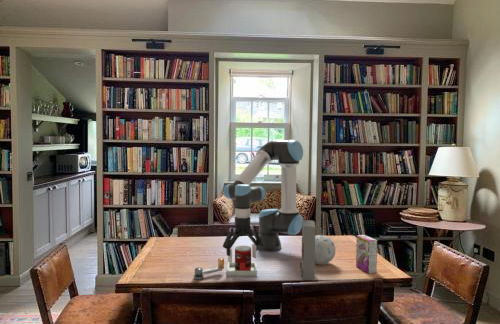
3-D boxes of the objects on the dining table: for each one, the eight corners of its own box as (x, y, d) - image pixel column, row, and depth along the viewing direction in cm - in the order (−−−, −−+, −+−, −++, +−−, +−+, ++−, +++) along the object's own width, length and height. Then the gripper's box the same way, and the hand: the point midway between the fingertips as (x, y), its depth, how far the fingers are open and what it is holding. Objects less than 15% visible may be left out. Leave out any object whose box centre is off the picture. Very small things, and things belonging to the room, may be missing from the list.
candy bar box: (355, 266, 191) (356, 235, 190) (363, 265, 192) (364, 234, 192) (368, 274, 180) (369, 240, 179) (376, 273, 182) (377, 239, 181)
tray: (255, 267, 188) (255, 262, 187) (256, 276, 175) (256, 271, 174) (228, 267, 187) (228, 262, 187) (227, 276, 174) (227, 271, 174)
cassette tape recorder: (299, 270, 185) (300, 220, 184) (312, 270, 184) (313, 220, 183) (301, 280, 171) (302, 226, 170) (314, 280, 170) (315, 226, 169)
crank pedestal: (203, 276, 174) (203, 274, 174) (202, 280, 169) (202, 277, 169) (194, 276, 174) (194, 274, 174) (193, 280, 169) (193, 277, 169)
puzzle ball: (329, 270, 184) (329, 240, 184) (301, 265, 192) (301, 236, 192) (339, 262, 197) (339, 234, 197) (312, 257, 205) (312, 230, 204)
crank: (196, 277, 169) (196, 265, 169) (193, 274, 172) (193, 263, 172) (225, 270, 178) (225, 259, 177) (221, 268, 181) (221, 257, 180)
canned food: (234, 267, 185) (234, 245, 184) (250, 267, 185) (250, 245, 185) (235, 273, 177) (235, 250, 176) (251, 272, 178) (252, 250, 177)
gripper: (260, 212, 189) (259, 253, 190) (215, 217, 176) (215, 261, 177) (268, 215, 183) (268, 257, 184) (223, 220, 170) (222, 266, 171)
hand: (242, 259), depth 181 cm, fingers open, 13 cm apart
